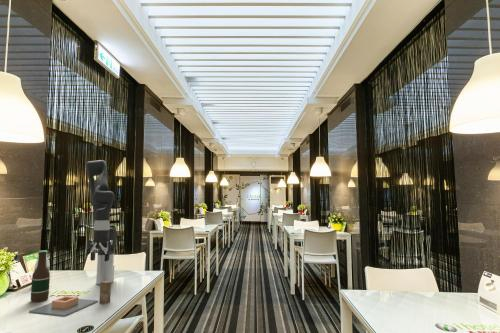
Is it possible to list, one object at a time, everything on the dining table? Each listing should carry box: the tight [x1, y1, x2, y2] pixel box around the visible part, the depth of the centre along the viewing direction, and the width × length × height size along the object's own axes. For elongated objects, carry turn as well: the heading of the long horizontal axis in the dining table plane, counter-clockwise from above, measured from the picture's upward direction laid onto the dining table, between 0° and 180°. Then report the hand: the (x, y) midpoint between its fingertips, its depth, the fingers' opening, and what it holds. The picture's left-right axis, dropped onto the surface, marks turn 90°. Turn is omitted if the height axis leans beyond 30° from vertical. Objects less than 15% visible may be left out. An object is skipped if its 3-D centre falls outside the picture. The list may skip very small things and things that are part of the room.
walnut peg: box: [98, 281, 112, 305], centre depth 154 cm, size 4×4×10 cm
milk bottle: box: [33, 249, 51, 272], centre depth 186 cm, size 8×8×20 cm
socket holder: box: [28, 295, 99, 317], centre depth 148 cm, size 20×20×4 cm
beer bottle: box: [30, 250, 51, 303], centre depth 159 cm, size 8×8×24 cm
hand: (99, 260), depth 161 cm, fingers open, 8 cm apart
